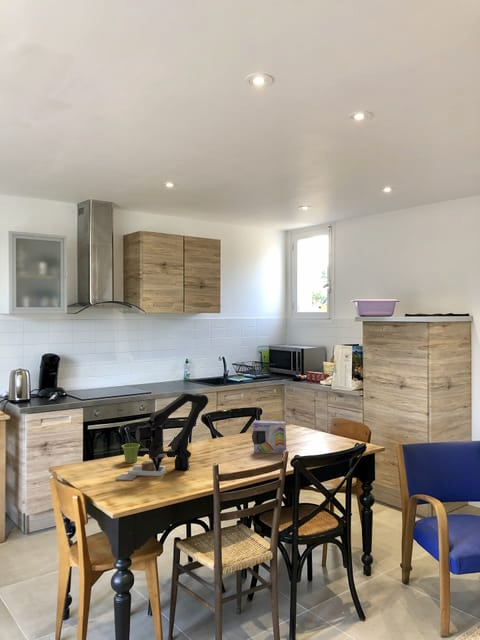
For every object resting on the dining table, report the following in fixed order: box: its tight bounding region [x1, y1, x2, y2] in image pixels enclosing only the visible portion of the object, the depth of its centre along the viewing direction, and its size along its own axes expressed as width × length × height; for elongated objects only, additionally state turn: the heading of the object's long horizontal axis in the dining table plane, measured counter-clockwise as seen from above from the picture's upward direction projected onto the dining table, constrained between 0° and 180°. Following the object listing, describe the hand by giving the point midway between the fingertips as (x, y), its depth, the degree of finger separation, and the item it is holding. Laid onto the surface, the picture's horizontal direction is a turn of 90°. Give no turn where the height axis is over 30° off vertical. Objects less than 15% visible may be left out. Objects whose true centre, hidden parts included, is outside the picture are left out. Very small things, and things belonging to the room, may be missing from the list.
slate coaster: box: [115, 473, 139, 482], centre depth 246 cm, size 8×8×1 cm
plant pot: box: [121, 442, 141, 464], centre depth 275 cm, size 9×9×9 cm
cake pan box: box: [251, 419, 287, 455], centre depth 293 cm, size 19×5×18 cm, turn 73°
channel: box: [127, 465, 167, 477], centre depth 255 cm, size 17×9×2 cm, turn 84°
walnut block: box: [141, 460, 155, 471], centre depth 255 cm, size 5×5×5 cm
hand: (157, 470), depth 254 cm, fingers closed
